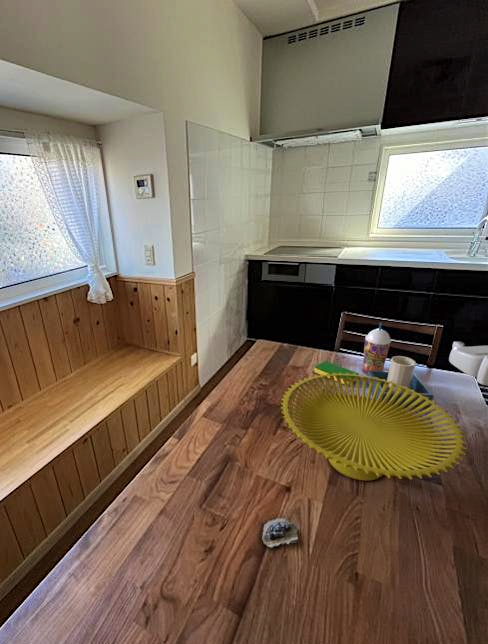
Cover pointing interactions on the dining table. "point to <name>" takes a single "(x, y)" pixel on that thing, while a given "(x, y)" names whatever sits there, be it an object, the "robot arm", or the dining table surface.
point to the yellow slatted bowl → (371, 429)
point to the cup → (401, 372)
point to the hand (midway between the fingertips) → (474, 343)
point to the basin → (415, 385)
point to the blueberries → (279, 532)
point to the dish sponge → (334, 371)
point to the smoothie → (376, 349)
